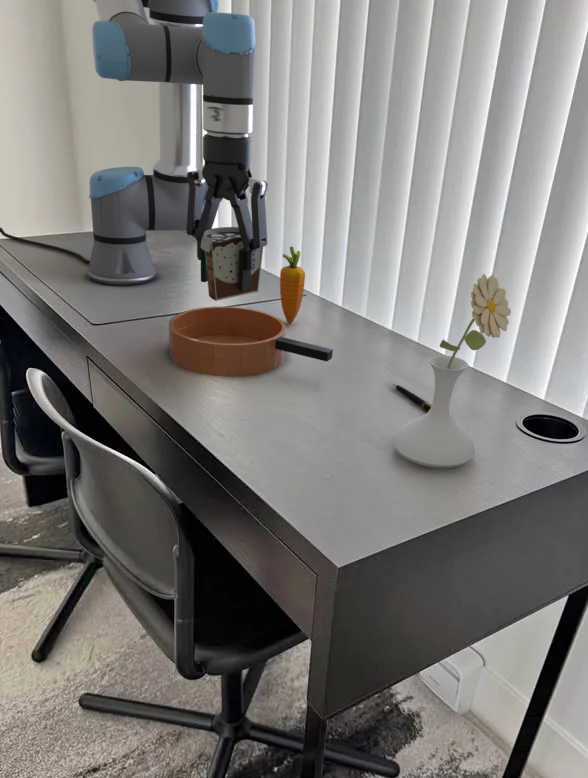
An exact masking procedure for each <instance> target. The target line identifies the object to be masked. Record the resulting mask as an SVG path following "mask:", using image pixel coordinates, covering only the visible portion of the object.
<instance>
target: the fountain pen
mask: <svg viewBox="0 0 588 778" xmlns="http://www.w3.org/2000/svg"><path fill="white" fill-rule="evenodd" d="M391 384H392V386H393V387H394V388H395V390H396V391H397V392H399V393H400V394H402V395H404V396H405V397H406V398H408V399H409V400H410V401H412V403H415V404H416V405H417V406H419V407H420V408H421V409H422V410H424V411H425V412H427V413H428V412H429V410H430V409H431V406H432V404H431V403H430V402H428V401H426V400H424V399H423V398H421V397H420V396H417V395H416V394H414V393H413V392H411V391H410V390H408V389H406V388H404V387H402V386H401V385H399V384H395V383H393V382H392V383H391Z"/></svg>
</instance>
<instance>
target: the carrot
mask: <svg viewBox="0 0 588 778" xmlns="http://www.w3.org/2000/svg"><path fill="white" fill-rule="evenodd" d="M289 252H290V255H291V256H289V255H288V254H286V253H283V254H282V257H283V258H284V259H286V261H287V262H288V264H289V265H286V266H283V267H282V268H281V269H280V273H279V277H280V278H279V295H280V302H281V308H282V311H283V315H284V317H285V319H286V322H287V323H288V324H292V323H293V322H294V320H295V319H296V318H297V315H298V314H299V311H300V308H301V305H302V301H303V297H304V290H305V281H306V272H305V270H304V269H303V268H302V266H298V264H299V263H298V262H299V260H300V257H301V251H300V250H297V251H295V247H294V246H289Z"/></svg>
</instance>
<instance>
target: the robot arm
mask: <svg viewBox="0 0 588 778" xmlns="http://www.w3.org/2000/svg"><path fill="white" fill-rule="evenodd" d="M92 1H93V2H94V3H95V6H96V11H97V15H98V19H99V20H96V21H95V22H93V25H92V28H91V29H92V30H91V32H92V35H91V36H92V52H93V60H94V69H95V72H96V74H97V76H99V77H100V78H102V79H109V80H116V81H119V82H125V81H126V82H128V81H129V82H146V83H147V82H148V83H149V82H150V83H158V115H159V119H158V121H159V158H158V160H157V161H156V162H155V163H154V164H153V166H152V173H153V174H145V172H144V171H143V170H144V169H143V168H142V167H139V166H117V167H110V168H105V169H101V170H98V171H95V172H94V173H92V174H91V176H90V177H89V195H88V198H89V199H90V206H91V207H90V209H91V220H92V222H91V223H92V233H93V234H92V235H93V244H92V249H91V254H90V260H89V259H87V258H85V257H83V255H81V254H79V253H77V252H75V251H73V250H69V249H66V248H63V247H59V246H56V245H52V244H47V243H44V242H43V243H42V242H38V241H34V240H30V239H25V238H23V237H18V236H15V235H11V234H9V233H6V231H4V229H3V227H0V234H1V235H2V236H4V237H5V238H7V239H10V240H12V241H13V240H14V241H16V242H21V243H25V244H28V245H32V246H38V247H41V248H44V249H45V248H46V249H49V250H54V251H57V252H62V253H65V254H68V255H71V256H73V257H75V258H77V259H79V260H80V261H82V262H83V263H85V264H88V267H87V268H88V269H87V273H88V278H89V279H90V280H91V281H93V282H95V283H99V284H103V285H110V286H135V285H136V286H137V285H142V284H147V283H150V282H153V281H154V280H155V279H156V277H157V274H156V273H157V272H156V271H157V270H156V266H155V265H154V263H153V259H152V256H151V252H150V250H149V247H148V244H147V243H148V242H147V231H180V232H181V231H183V232H186V234H187V235H188V236H192V237H194V239H195V240H196V258H197V260H198V261H200V282H202V283H208V280H207V269H206V258H205V251H204V250H203V249H202V248H201V247H200V246H201V241H202V236H203V235H204V232H205V231H207V230H209V229H213V226H214V223H215V219H216V218H217V217H216V216H217V213H218V210H219V207H220V204H221V202H222V201H223V199H224V200H226V201H229V204H230V206H231V208H232V209H233V212H234V216H235V219H236V223H237V227H238V228H239V232H240V235H241V239H242V243H243V247H244V248H242V249H241V250H239V285H238V290H240V291H243V290H246V289H248V288H250V287H251V270H253V269H254V268H255V262H256V249H258V248H261V247H263V248H264V247H266V246H267V245H268V226H267V225H268V223H267V206H266V196H267V192H268V189H269V188H268V187H269V183H268V181H266V180H262V181H261V180H259V179H257V178H255V177H253V175H252V172H251V164H252V159H253V158H252V155H253V154H252V153H253V139H252V138H251V136H249V135H250V134H251V133H253V127H254V126H253V123H254V122H253V120H254V119H253V118H254V85H255V84H254V83H255V82H254V81H255V57H256V55H255V54H256V53H255V52H256V48H257V42H256V28H255V27H256V25H255V24H256V23H255V20H254V18H253V17H252V16H250V15H248V14H242V13H241V14H240V13H232V12H230V13H229V12H220V11H219V2H220V0H92ZM145 8H146V9H148V10H149V11H148V12H149V13H148V14H149V15H148V16H149V20H150V22H151V24H150V22H149V20H148V17H147V14H146V10H145ZM218 11H219V12H218ZM201 86H202V91H201ZM201 92H202V129H203V130H204V131H205V132H206V133H204V135H203V136H202V159H203V160H204V163H202V162H201V159H200V158H201V157H200V156H201V153H200V152H201ZM248 188H249V193H250V194H251V195H250V208H249V198H248V194H247V190H248ZM250 209H251V210H250ZM250 211H251V213H250Z"/></svg>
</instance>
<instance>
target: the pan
mask: <svg viewBox="0 0 588 778" xmlns="http://www.w3.org/2000/svg"><path fill="white" fill-rule="evenodd" d="M286 334H287V325H286V324H285V323H284V321H283V320H281V319H280V318H279V317H277V316H275V315H273V314H271V313H268V312H265V311H263V310H259V309H258V310H257V309H254V308H247V307H240V306H239V307H238V306H207V307H206V306H205V307H204V306H203V307H198V308H197V307H196V308H192V309H188V310H183V311H182V312H179V313H177V314H175V315H174V316H173V317H171V318H170V320H169V322H168V340H169V341H168V342H169V344H168V346H169V357H170V359H171V360H172V361H173V362H174V363H175V364H177V365H178V366H179V367H181V368H183V369H186V370H187V371H192V372H194V373H197V374H203V375H210V376H216V377H245V376H253V375H260V374H262V373H263V374H264V373H267V372H269V371H272V370H274V369H276V368H278V367H279V366H280V365H282V364H283V362H284V359H285V353H286V351H282V350H278V349H275V345H276V340H277V339H278V338H280V337H284V338H286V336H287V335H286Z"/></svg>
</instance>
